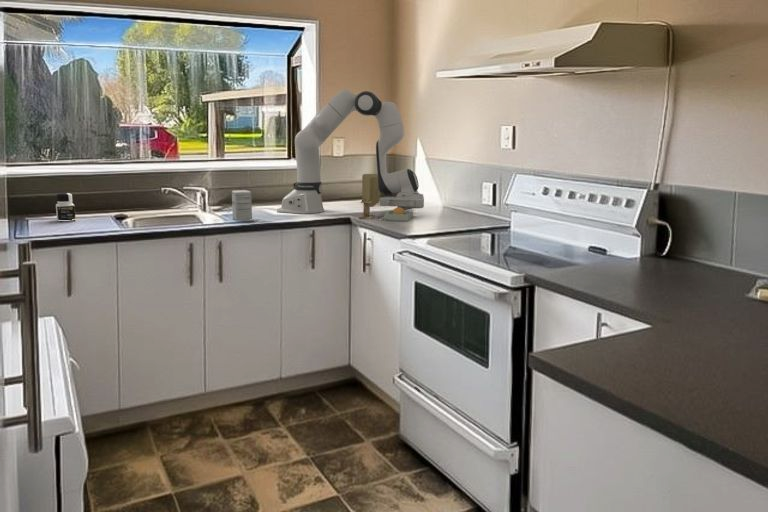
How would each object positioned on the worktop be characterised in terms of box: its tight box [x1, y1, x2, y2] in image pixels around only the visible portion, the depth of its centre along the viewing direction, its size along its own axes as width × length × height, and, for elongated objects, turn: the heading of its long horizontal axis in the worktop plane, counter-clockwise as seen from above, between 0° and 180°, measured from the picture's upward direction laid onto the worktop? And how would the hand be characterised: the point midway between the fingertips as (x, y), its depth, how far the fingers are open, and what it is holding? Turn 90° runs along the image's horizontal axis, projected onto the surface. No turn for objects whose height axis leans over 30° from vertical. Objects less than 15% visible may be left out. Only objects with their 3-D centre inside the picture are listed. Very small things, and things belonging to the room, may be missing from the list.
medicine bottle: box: [55, 192, 77, 220], centre depth 323 cm, size 7×7×12 cm
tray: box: [384, 210, 413, 222], centre depth 332 cm, size 10×10×3 cm
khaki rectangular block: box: [361, 173, 381, 208], centre depth 383 cm, size 22×10×15 cm, turn 1°
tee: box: [358, 199, 376, 220], centre depth 335 cm, size 6×6×8 cm
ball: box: [392, 206, 405, 214], centre depth 331 cm, size 5×5×5 cm
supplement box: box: [231, 189, 253, 221], centre depth 329 cm, size 7×7×13 cm
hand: (398, 204), depth 330 cm, fingers open, 8 cm apart
